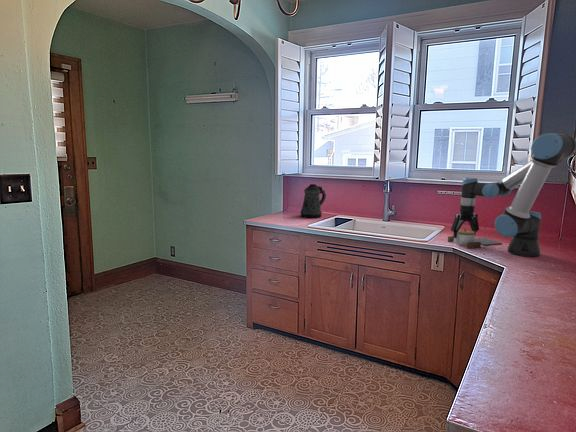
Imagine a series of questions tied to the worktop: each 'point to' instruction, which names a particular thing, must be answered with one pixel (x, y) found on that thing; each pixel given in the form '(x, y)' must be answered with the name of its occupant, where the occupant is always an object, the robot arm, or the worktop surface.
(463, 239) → the lidded jar
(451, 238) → the pot cradle
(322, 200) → the dark grey tall jug
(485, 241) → the rubber mat
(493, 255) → the worktop surface
